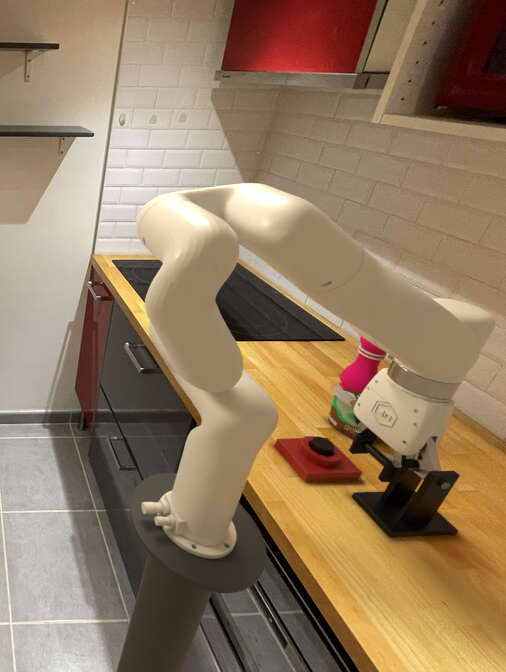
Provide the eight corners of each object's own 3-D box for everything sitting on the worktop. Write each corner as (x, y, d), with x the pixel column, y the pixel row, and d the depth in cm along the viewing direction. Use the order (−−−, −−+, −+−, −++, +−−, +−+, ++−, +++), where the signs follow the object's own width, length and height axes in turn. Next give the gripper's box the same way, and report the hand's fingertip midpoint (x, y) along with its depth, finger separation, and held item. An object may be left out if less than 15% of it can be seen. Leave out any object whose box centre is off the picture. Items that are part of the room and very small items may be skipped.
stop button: (318, 456, 87) (321, 450, 87) (305, 442, 91) (308, 436, 90) (336, 456, 88) (339, 449, 87) (322, 442, 91) (325, 436, 90)
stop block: (304, 482, 86) (311, 467, 85) (273, 446, 95) (279, 432, 93) (358, 480, 87) (366, 465, 85) (323, 445, 95) (330, 430, 93)
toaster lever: (383, 472, 72) (394, 462, 71) (357, 448, 76) (367, 438, 75) (443, 490, 74) (454, 480, 73) (415, 466, 79) (425, 456, 78)
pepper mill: (327, 389, 112) (356, 321, 103) (345, 383, 114) (375, 315, 106) (358, 408, 106) (393, 336, 97) (377, 400, 108) (412, 330, 100)
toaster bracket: (389, 537, 76) (421, 484, 71) (351, 496, 83) (377, 445, 78) (455, 535, 77) (492, 482, 71) (412, 495, 84) (442, 444, 79)
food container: (325, 435, 98) (342, 399, 93) (319, 417, 103) (335, 382, 98) (397, 455, 93) (417, 418, 89) (387, 435, 98) (406, 399, 94)
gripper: (351, 346, 74) (313, 428, 82) (456, 418, 59) (397, 512, 66) (394, 346, 75) (352, 428, 82) (509, 418, 59) (445, 511, 67)
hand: (373, 465), depth 74 cm, fingers closed on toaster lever, 5 cm apart
